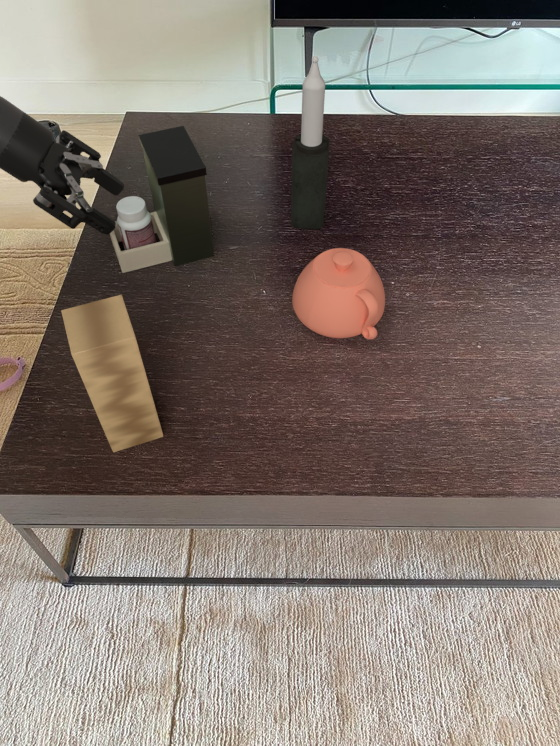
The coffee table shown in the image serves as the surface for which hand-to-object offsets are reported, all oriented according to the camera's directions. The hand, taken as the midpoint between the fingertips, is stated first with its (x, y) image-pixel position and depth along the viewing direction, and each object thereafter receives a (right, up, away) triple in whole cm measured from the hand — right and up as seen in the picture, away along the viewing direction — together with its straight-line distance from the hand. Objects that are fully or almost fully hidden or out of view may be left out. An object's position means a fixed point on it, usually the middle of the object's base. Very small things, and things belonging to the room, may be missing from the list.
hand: (116, 209), depth 86 cm
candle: (+27, +1, +11) cm, 29 cm away
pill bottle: (+2, -5, +6) cm, 8 cm away
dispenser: (+8, -3, +7) cm, 12 cm away
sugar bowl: (+31, -15, -2) cm, 35 cm away
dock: (+2, -5, +6) cm, 8 cm away
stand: (+5, -29, -13) cm, 32 cm away
